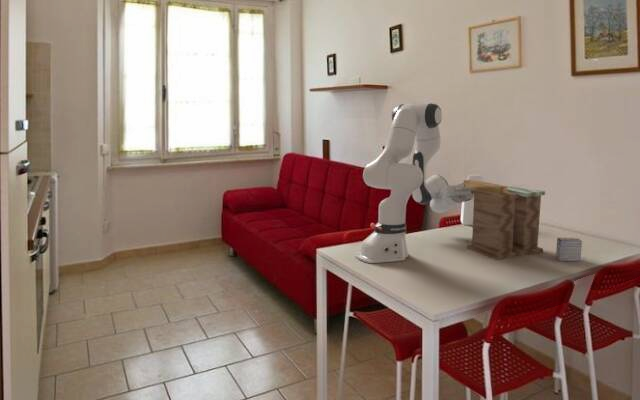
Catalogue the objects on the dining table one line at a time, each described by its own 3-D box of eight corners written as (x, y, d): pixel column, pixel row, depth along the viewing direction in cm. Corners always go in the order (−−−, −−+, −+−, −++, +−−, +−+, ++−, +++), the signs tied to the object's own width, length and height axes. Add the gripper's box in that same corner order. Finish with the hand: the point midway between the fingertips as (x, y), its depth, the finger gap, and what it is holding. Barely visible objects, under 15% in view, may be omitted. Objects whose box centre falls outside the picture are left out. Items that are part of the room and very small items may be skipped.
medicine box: (575, 258, 191) (577, 237, 190) (580, 261, 187) (582, 240, 186) (555, 258, 192) (556, 237, 191) (559, 261, 188) (561, 240, 186)
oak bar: (499, 194, 191) (499, 186, 191) (463, 186, 211) (463, 180, 211) (506, 193, 193) (507, 186, 192) (470, 186, 213) (470, 179, 212)
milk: (483, 220, 260) (485, 173, 255) (486, 225, 249) (488, 176, 244) (460, 220, 262) (462, 173, 257) (462, 225, 251) (464, 176, 246)
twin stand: (496, 259, 191) (499, 196, 186) (466, 248, 207) (469, 190, 203) (542, 252, 200) (546, 191, 196) (510, 241, 217) (514, 185, 212)
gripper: (434, 190, 218) (451, 178, 206) (469, 187, 225) (488, 175, 213) (437, 203, 216) (455, 192, 204) (473, 199, 223) (492, 188, 211)
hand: (472, 183), depth 208 cm, fingers open, 8 cm apart
